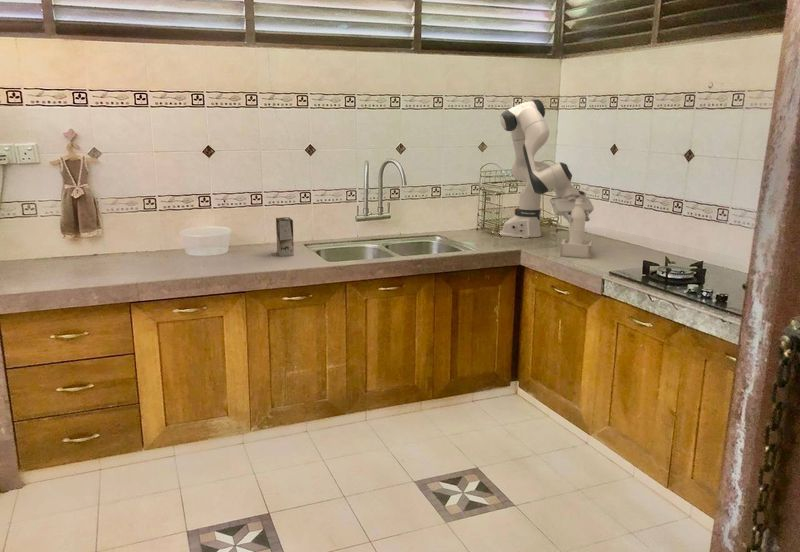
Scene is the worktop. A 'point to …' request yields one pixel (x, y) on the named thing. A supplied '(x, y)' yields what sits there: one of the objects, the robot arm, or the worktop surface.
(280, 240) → the coffee box
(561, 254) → the box
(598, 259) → the worktop surface
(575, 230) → the water bottle
